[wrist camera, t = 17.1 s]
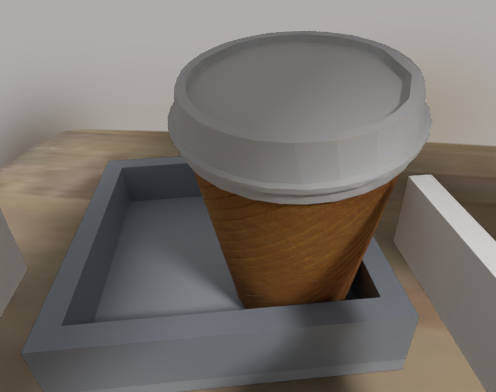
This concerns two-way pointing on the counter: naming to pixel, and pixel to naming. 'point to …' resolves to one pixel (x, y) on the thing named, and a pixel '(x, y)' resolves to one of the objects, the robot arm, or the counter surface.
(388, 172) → the disposable coffee cup
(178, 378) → the square open box
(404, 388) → the counter surface
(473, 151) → the counter surface
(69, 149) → the counter surface
